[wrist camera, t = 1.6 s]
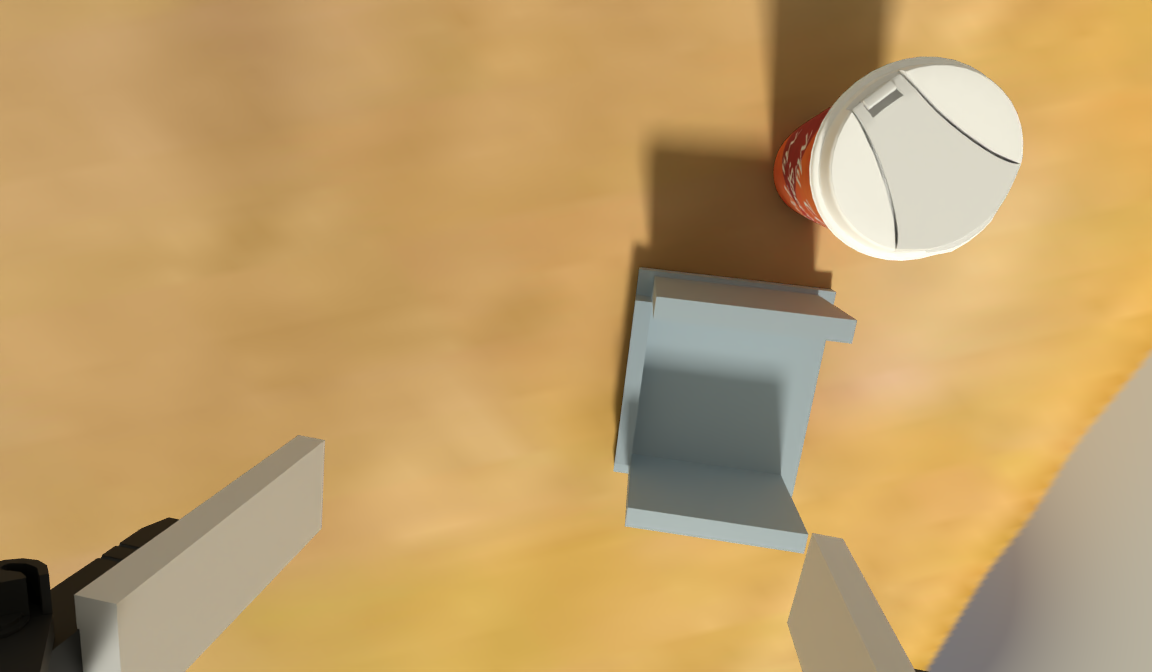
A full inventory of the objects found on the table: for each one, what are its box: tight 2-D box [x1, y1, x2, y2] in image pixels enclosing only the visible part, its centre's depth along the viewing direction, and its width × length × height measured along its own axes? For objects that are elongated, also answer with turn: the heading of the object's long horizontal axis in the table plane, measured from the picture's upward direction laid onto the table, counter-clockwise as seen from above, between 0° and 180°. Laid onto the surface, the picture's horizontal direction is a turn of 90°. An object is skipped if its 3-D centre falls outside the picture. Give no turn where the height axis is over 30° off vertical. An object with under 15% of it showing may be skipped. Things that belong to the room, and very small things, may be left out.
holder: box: [614, 267, 857, 553], centre depth 36 cm, size 14×12×8 cm
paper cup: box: [774, 57, 1023, 261], centre depth 29 cm, size 8×8×14 cm
